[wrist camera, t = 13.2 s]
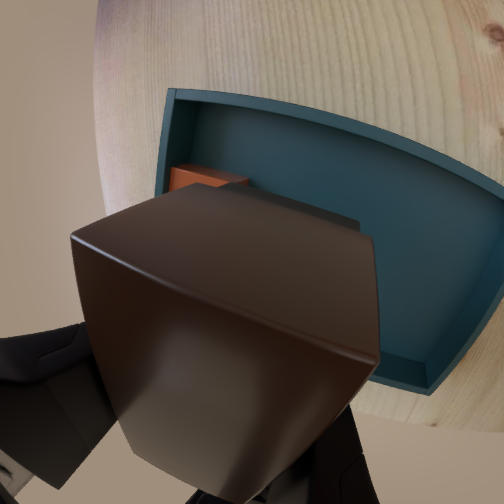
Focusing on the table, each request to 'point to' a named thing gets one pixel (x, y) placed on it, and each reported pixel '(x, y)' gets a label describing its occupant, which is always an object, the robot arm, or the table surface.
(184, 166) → the clay crumb
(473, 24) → the table surface
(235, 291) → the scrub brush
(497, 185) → the tray
